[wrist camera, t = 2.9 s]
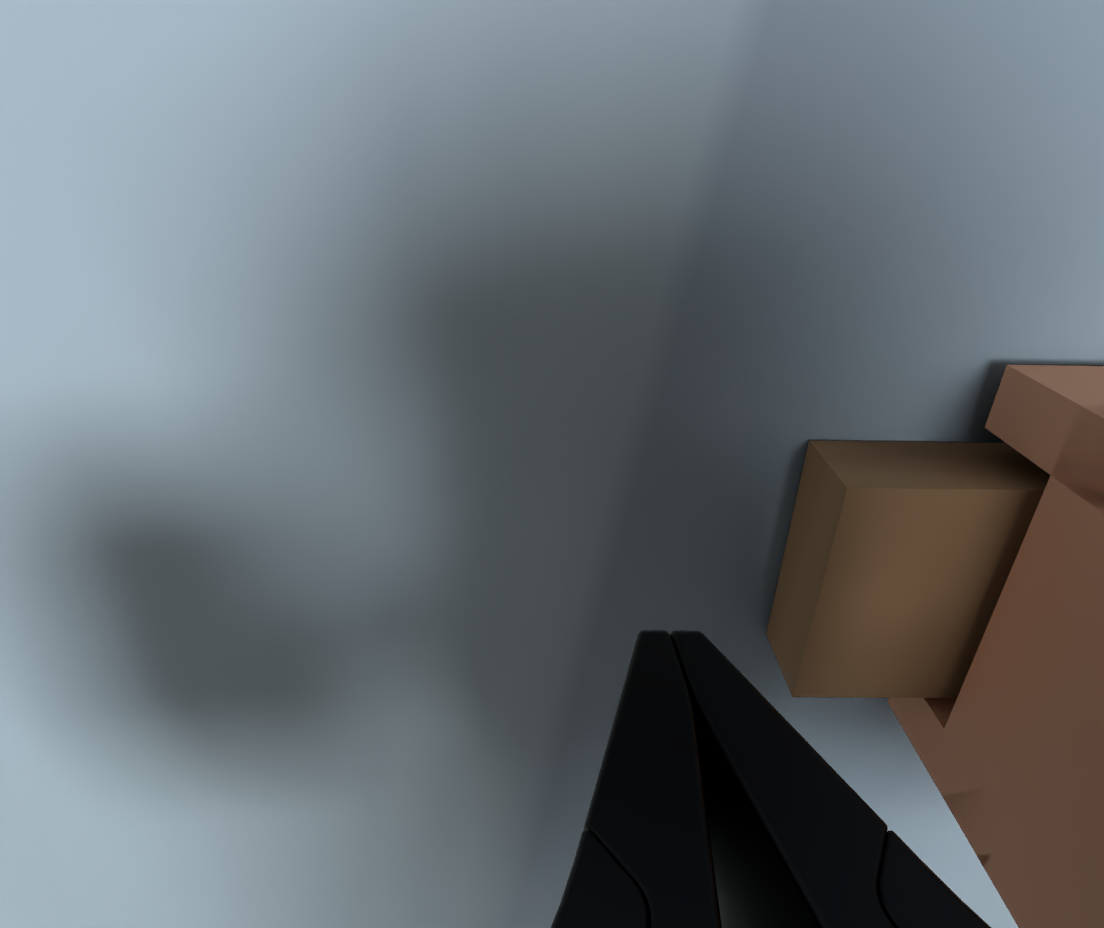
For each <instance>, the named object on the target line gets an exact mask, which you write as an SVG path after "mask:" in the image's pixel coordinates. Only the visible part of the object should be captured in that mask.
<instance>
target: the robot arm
mask: <svg viewBox="0 0 1104 928" xmlns="http://www.w3.org/2000/svg"><path fill="white" fill-rule="evenodd" d="M551 928H991V927H990V926H989V925H988V924H987V923H985V922H984V921H983V920H982V919H981V918H980V917H979V916H978V915H977V914H976V913H975V912H974V911H972V910H971V909H970V908H969V907H968V906H967V905H966V904H965V903H964V902H963V901H962V900H961V899H960V898H959V897H958V896H957V895H956V894H955V893H954V892H953V891H952V890H951V889H950V888H949V887H948V886H947V885H946V884H945V883H944V882H943V881H942V880H941V879H940V878H939V877H938V876H937V875H936V874H935V873H934V872H933V871H932V870H931V869H930V868H929V867H928V866H927V865H926V864H925V863H924V862H922V861H921V860H920V859H919V857H918V856H917V855H916V854H915V853H914V852H913V851H912V850H911V849H910V848H909V847H908V846H907V845H906V844H905V843H904V842H903V841H902V840H901V839H900V838H899V837H898V836H897V835H896V834H895V833H894V832H893V831H888V832H887V825H886V824H885V823H884V821H883V820H882V819H881V818H880V817H879V816H878V815H877V814H876V813H875V812H874V811H873V810H872V809H871V808H870V807H869V806H868V805H867V804H866V803H865V802H864V801H863V800H862V799H861V798H860V796H859V795H858V794H857V793H856V792H855V791H854V790H853V789H852V788H851V787H850V786H849V785H848V784H847V783H846V782H845V781H844V780H843V779H842V778H841V777H840V776H839V775H838V774H837V773H836V772H835V770H834V769H833V768H832V767H831V766H830V765H829V764H828V763H827V762H826V761H825V760H824V759H823V758H822V757H821V756H820V755H819V754H818V753H817V752H816V751H815V750H814V749H813V748H812V747H811V746H810V744H809V743H808V742H807V741H806V740H805V739H804V738H803V737H802V736H801V735H800V734H799V733H798V732H797V731H796V730H795V729H794V728H793V727H792V726H791V725H790V724H789V723H788V722H787V721H786V720H785V718H784V717H783V716H782V715H781V714H780V713H779V712H778V711H777V710H776V709H775V708H774V707H773V706H772V705H771V704H770V703H769V702H768V701H767V700H766V699H765V698H764V697H763V696H762V695H761V694H760V692H759V691H758V690H757V689H756V688H755V687H754V686H753V685H752V684H751V683H750V682H749V681H748V680H747V679H746V678H745V677H744V676H743V675H742V674H741V673H740V672H739V671H738V670H737V669H736V668H735V666H734V665H733V664H732V663H731V662H730V661H729V660H728V659H727V658H726V657H725V656H724V655H723V654H722V653H721V652H720V651H719V650H718V649H717V648H716V647H715V646H714V645H713V644H712V643H711V641H710V640H709V639H708V638H707V637H706V636H705V635H704V634H703V633H701V632H699V631H673V632H671V633H670V634H669V633H668V632H667V631H664V630H643V631H640V632H639V634H638V636H637V640H636V644H635V647H634V651H633V654H632V658H631V661H630V665H629V668H628V672H627V676H626V679H625V683H624V686H623V690H622V693H621V697H620V700H619V704H618V708H617V711H616V715H615V718H614V722H613V725H612V729H611V733H610V736H609V740H608V743H607V747H606V750H605V754H604V757H603V761H602V765H601V768H600V772H599V775H598V779H597V782H596V786H595V790H594V793H593V797H592V800H591V804H590V807H589V811H588V814H587V818H586V822H585V825H584V831H583V832H582V834H581V838H580V842H579V845H578V849H577V852H576V856H575V859H574V863H573V866H572V869H571V872H570V875H569V878H568V881H567V885H566V888H565V891H564V894H563V897H562V900H561V903H560V906H559V908H558V911H557V913H556V916H555V918H554V921H553V923H552V926H551Z"/></svg>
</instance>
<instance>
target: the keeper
mask: <svg viewBox="0 0 1104 928" xmlns="http://www.w3.org/2000/svg"><path fill="white" fill-rule="evenodd" d="M985 428H986V429H987V430H989V431H990V432H992V433H993V434H994V435H996V436H997V437H999V438H1000V439H1001V440H1003V441H1004V442H1005V443H1007V444H1008V445H1010V446H1011V447H1012V448H1014V449H1015V450H1017V451H1018V452H1019V453H1021V454H1022V455H1023V456H1025V457H1026V458H1028V459H1029V460H1030V461H1032V462H1033V463H1035V464H1036V465H1037V466H1039V467H1040V468H1041V469H1043V470H1044V471H1046V472H1047V473H1048V474H1050V478H1049V480H1048V483H1047V485H1046V487H1045V490H1044V492H1043V495H1042V497H1041V499H1040V502H1039V504H1038V506H1037V509H1036V511H1035V514H1034V516H1033V518H1032V521H1031V523H1030V526H1029V528H1028V530H1027V533H1026V535H1025V537H1024V540H1023V542H1022V545H1021V547H1020V549H1019V552H1018V554H1017V557H1016V559H1015V561H1014V564H1013V566H1012V568H1011V571H1010V573H1009V576H1008V578H1007V580H1006V583H1005V585H1004V588H1003V590H1002V592H1001V595H1000V597H999V599H998V602H997V604H996V607H995V609H994V611H993V614H992V616H991V619H990V621H989V623H988V626H987V628H986V630H985V633H984V635H983V638H982V640H981V642H980V645H979V647H978V650H977V652H976V654H975V657H974V659H973V661H972V664H971V666H970V669H969V671H968V673H967V676H966V678H965V681H964V683H963V685H962V688H961V690H960V692H959V695H958V697H957V698H889V699H888V704H889V705H890V707H891V709H892V710H893V712H894V714H895V716H896V717H897V719H898V721H899V723H900V724H901V726H902V728H903V729H904V731H905V733H906V735H907V736H908V738H909V740H910V741H911V743H912V745H913V747H914V748H915V750H916V752H917V753H918V755H919V757H920V759H921V760H922V762H923V764H924V766H925V767H926V769H927V771H928V772H929V774H930V776H931V778H932V779H933V781H934V783H935V784H936V786H937V788H938V790H939V791H940V793H941V795H942V796H943V798H944V800H945V802H946V803H947V805H948V807H949V809H950V810H951V812H952V814H953V815H954V817H955V819H956V821H957V822H958V824H959V826H960V827H961V829H962V831H963V833H964V834H965V836H966V838H967V839H968V841H969V843H970V845H971V846H972V848H973V850H974V851H975V853H976V855H977V857H978V858H979V860H980V862H981V864H982V865H983V867H984V869H985V870H986V872H987V874H988V876H989V877H990V879H991V881H992V882H993V884H994V886H995V888H996V889H997V891H998V893H999V894H1000V896H1001V898H1002V900H1003V901H1004V903H1005V905H1006V907H1007V908H1008V910H1009V912H1010V913H1011V915H1012V917H1013V919H1014V920H1015V922H1016V924H1017V925H1018V927H1019V928H1104V366H1059V365H1007V366H1006V368H1005V371H1004V374H1003V377H1002V380H1001V383H1000V385H999V388H998V391H997V394H996V397H995V400H994V402H993V405H992V408H991V411H990V414H989V417H988V419H987V422H986V425H985Z"/></svg>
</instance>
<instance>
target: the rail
mask: <svg viewBox="0 0 1104 928" xmlns="http://www.w3.org/2000/svg"><path fill="white" fill-rule="evenodd" d="M1049 478H1050V474H1048V473H1047V472H1046V471H1044V470H1043V469H1041V468H1040V467H1039V466H1037V465H1036V464H1035V463H1033V462H1032V461H1030V460H1029V459H1028V458H1026V457H1025V456H1023V455H1022V454H1021V453H1019V452H1018V451H1017V450H1015V449H1014V448H1012V447H1011V446H1010V445H1008V444H1007V443H970V442H894V441H818V440H809V443H808V448H807V452H806V457H805V461H804V466H803V470H802V475H801V479H800V484H799V488H798V493H797V497H796V502H795V506H794V511H793V515H792V520H791V524H790V529H789V533H788V538H787V542H786V547H785V551H784V556H783V560H782V565H781V569H780V574H779V579H778V583H777V588H776V592H775V597H774V601H773V606H772V610H771V615H770V619H769V624H768V628H767V633H766V635H767V638H768V640H769V643H770V645H771V647H772V650H773V652H774V654H775V657H776V659H777V661H778V664H779V666H780V668H781V671H782V673H783V675H784V678H785V680H786V682H787V685H788V687H789V690H790V692H791V694H792V697H881V698H957V697H958V695H959V692H960V690H961V688H962V685H963V683H964V681H965V678H966V676H967V673H968V671H969V669H970V666H971V664H972V661H973V659H974V657H975V654H976V652H977V650H978V647H979V645H980V642H981V640H982V638H983V635H984V633H985V630H986V628H987V626H988V623H989V621H990V619H991V616H992V614H993V611H994V609H995V607H996V604H997V602H998V599H999V597H1000V595H1001V592H1002V590H1003V588H1004V585H1005V583H1006V580H1007V578H1008V576H1009V573H1010V571H1011V568H1012V566H1013V564H1014V561H1015V559H1016V557H1017V554H1018V552H1019V549H1020V547H1021V545H1022V542H1023V540H1024V537H1025V535H1026V533H1027V530H1028V528H1029V526H1030V523H1031V521H1032V518H1033V516H1034V514H1035V511H1036V509H1037V506H1038V504H1039V502H1040V499H1041V497H1042V495H1043V492H1044V490H1045V487H1046V485H1047V483H1048V480H1049Z"/></svg>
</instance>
